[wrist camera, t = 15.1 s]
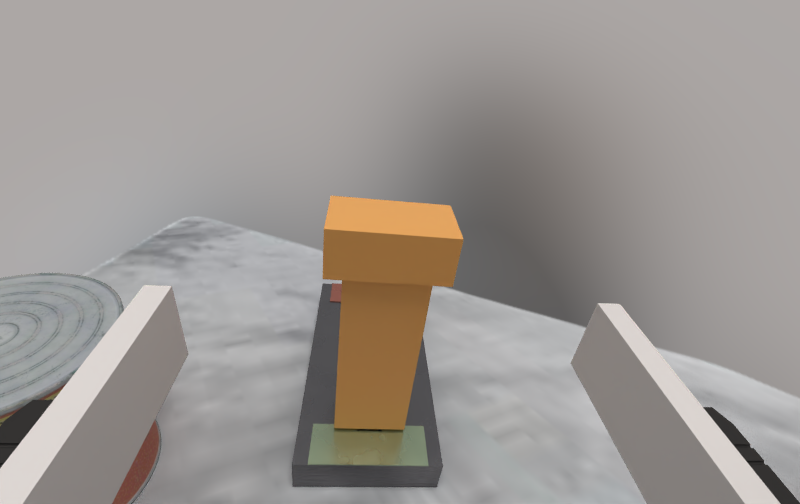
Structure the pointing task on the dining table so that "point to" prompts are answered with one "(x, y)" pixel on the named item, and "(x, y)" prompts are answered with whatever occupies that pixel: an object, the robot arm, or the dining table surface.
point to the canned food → (59, 349)
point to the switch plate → (360, 448)
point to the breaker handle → (384, 299)
